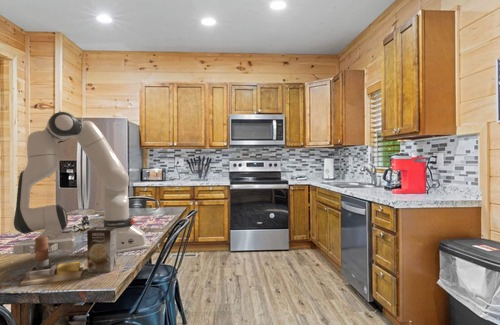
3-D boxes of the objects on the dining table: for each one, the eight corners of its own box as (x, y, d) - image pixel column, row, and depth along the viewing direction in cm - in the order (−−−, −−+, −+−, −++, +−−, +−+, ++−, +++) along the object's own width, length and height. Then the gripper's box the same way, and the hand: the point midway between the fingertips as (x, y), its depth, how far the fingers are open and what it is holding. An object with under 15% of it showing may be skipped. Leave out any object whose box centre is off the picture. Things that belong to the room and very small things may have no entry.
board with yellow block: (84, 266, 129) (84, 257, 129) (80, 278, 116) (79, 268, 116) (31, 272, 122) (31, 263, 122) (20, 286, 109) (20, 275, 109)
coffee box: (86, 272, 122) (85, 230, 121) (94, 266, 128) (93, 226, 128) (111, 271, 122) (110, 230, 122) (117, 266, 128) (116, 226, 128)
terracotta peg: (49, 267, 120) (49, 236, 120) (47, 271, 116) (46, 238, 116) (37, 269, 119) (36, 237, 118) (34, 272, 115) (33, 239, 115)
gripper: (18, 236, 126) (6, 245, 113) (77, 231, 133) (72, 239, 120) (19, 252, 126) (7, 263, 113) (77, 246, 133) (72, 255, 120)
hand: (41, 250), depth 117 cm, fingers closed on terracotta peg, 4 cm apart
